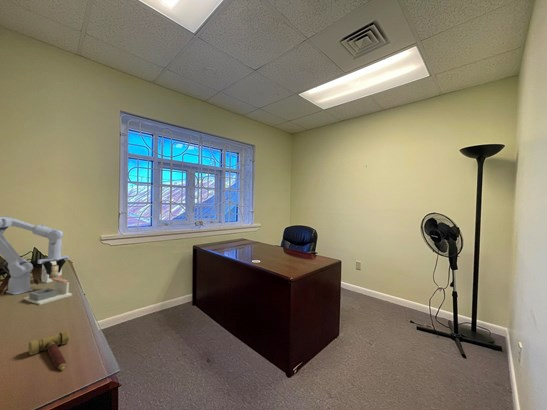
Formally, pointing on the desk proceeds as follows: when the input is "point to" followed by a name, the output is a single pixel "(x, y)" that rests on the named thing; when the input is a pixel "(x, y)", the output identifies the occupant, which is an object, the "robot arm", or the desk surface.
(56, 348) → the gavel
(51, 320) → the desk surface
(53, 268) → the maple peg
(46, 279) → the ink cartridge box
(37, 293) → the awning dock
